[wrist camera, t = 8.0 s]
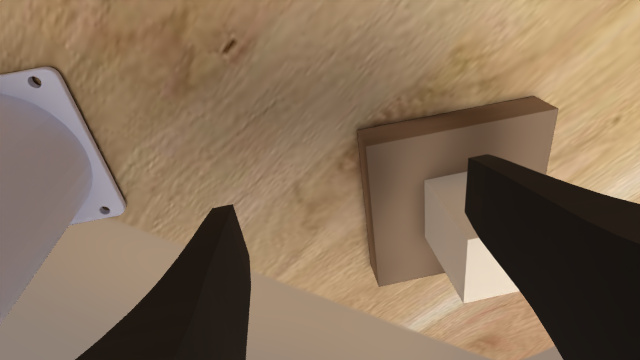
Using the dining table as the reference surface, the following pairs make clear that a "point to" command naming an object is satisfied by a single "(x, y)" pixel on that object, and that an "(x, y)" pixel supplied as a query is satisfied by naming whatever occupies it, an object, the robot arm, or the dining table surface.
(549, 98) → the dining table surface
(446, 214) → the off-white block
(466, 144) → the walnut plinth
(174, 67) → the dining table surface
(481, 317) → the dining table surface
